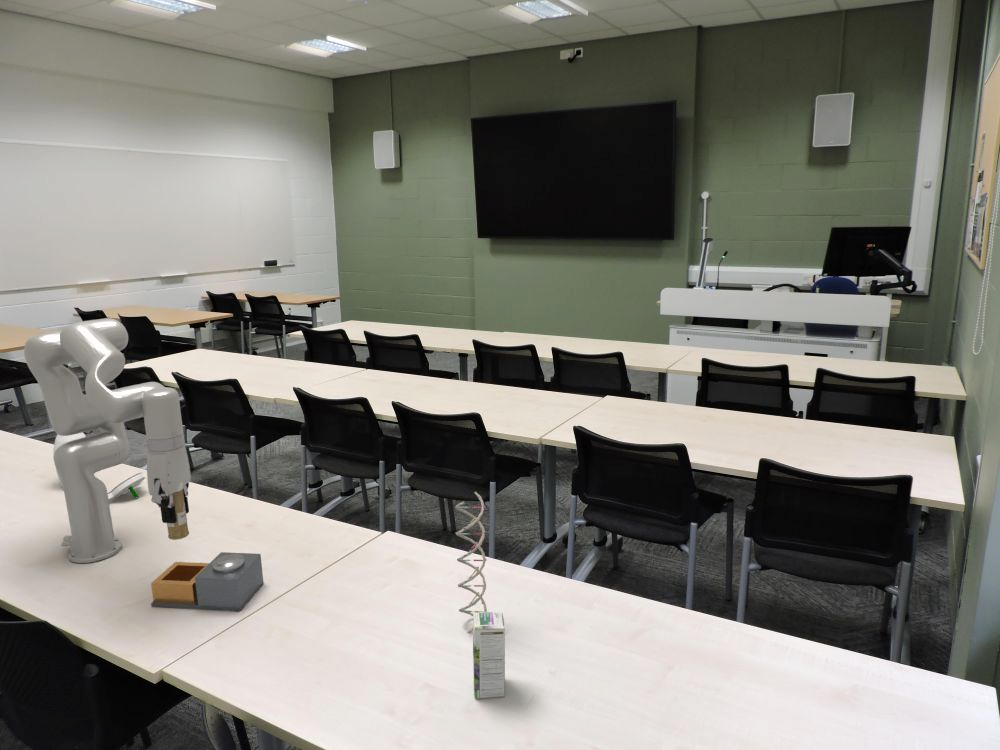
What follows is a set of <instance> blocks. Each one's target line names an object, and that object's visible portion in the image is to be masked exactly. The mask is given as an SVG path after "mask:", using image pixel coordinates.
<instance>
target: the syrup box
mask: <svg viewBox="0 0 1000 750" xmlns="http://www.w3.org/2000/svg"><path fill="white" fill-rule="evenodd" d="M472 614H473V616H472V624H473V625H472V628H473V631H472V659H473V660H472V663H473V666H472V667H473V692H474V693H473V694H474V699H476V700H478V699H479V700H480V699H491V698H492V699H493V698H502V697H503V698H505V697H506V670H505V669H506V639H505V638H506V637H505V635H506V630H505V618H504V613H503V612H502V611H487V612H478V613H475V612H473V613H472Z"/></svg>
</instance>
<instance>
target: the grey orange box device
mask: <svg viewBox="0 0 1000 750" xmlns="http://www.w3.org/2000/svg"><path fill="white" fill-rule="evenodd" d="M262 566H263V563H262V556H261V553H250V552H249V553H247V552H246V553H245V552H224V551H223V552H222V551H221V552H220V553H219V554H217V555H216V556H215V557H214V558H213V560H211V561H210V562H191V561H190V562H188V561H174V562H173V563H171V565H169V566H168V567H167V569H165V570H164V571H163V572H162V573H161V574H159V575H158V576H157V577H156V578H155V579H154V580H153V581H151V583H150V588H151V593H152V599H153V601H151V602H150V606H151V608H162V609H163V608H164V609H165V608H166V609H183V610H184V609H186V610H204V611H209V610H210V611H222V612H223V611H225V612H226V611H229V612H241V611H242V610H243V609H244V608H245V607H246V605H248V604H249V602H251V600H250V599H252V598H253V597H254V596H255V595H256V594H257V592H258V591H260V589H261V588H262V587H263V586H264V584H265V583H264V574H263V567H262ZM260 587H261V588H260ZM255 593H256V594H255ZM254 594H255V595H254Z"/></svg>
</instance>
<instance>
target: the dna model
mask: <svg viewBox="0 0 1000 750" xmlns="http://www.w3.org/2000/svg"><path fill="white" fill-rule="evenodd" d="M474 494H475V495H476V497H477V498H478V500H479V502H480V504H481V506H472V509H480V513H479V514H478V516H477V517H476V516H475V515H473V514H471V513H470V512H469V511H467V510H465V509H470V506H463V505H465V501H462V502H460V503H458V504H456V505H455V506H454V507H455V510H456V511H459V512H461V513H463V514H465V515H467V516H469V517H470V518H472V520H471V521H470V522H469V523H468V524H467V525H466V526H463V527H462V528H461V529H460V530H458V531H457V532H454V533H455V535H456V536H457V537H460V538H462V539H464V540H466V541H468V542H471V543H472V544H473V546H472V547H470V548H471V549H470V550H469V551H468V552H467V553H466V554H463V555H461V556H460V557H458V558H457V559H456V561H457V562H459V563H461V564H463V565H466V566H468V567H471V568H472V569H474V571H473V572H472V574H471V575H470V576H469V577H468V578H467V579H466V580H464V581H462V582H460V583H458V584H457V587H458V588H461V589H464V590H467V591H468V592H471V593H473V594H475V596H474V597H473V598H472V600H471V601H470V602H469V604H468V605H466V606H464V607H461V608H459V609H458V611H459V612H461V613H464V614H466V615H470V616H471V617H473V614H474V613H478V612H488V611H487V604H486V601H485V600H484V598H483V595H484V594H485V592H486V589H487V582H486V578H485V575H484V574H483V572H482V571H483V569H484V568H485V565H486V562H487V560H488V559H487V558H486V555H485V551H484V550H483V548H482V547H481V546H482V545H483V542H484V540H485V534H486V531H485V527H484V525H483V524H482V522H481V521H480V519H481V518H482V516H483V514H484V510H485V508H486V505H485V503H484V500H483V499H482V498H483V497H482V496H481V495H480V494H478V492H477V491H474ZM476 523H478V526H479V527H480V528H479V529H481V532H482V533H479V532H478V533H466V532H465V531H467V530H469V529H470V528H471V527H474V526H475V524H476ZM464 532H465V533H464ZM468 535H472V536H475V535H476V536H479V535H480V539H479V541H475V540H473V539H472V538H470V537H468ZM477 550H478V551H479V552H480V553H481V557H482V559H473V562H482V564H481V566H475V565H473V564H472V563H470V562H471V559H465V558H467V557H469V556H470V555H473V553H475V552H476V551H477ZM479 567H480V568H479ZM479 575H480V577H481V578H482V583H483V584H481V585H480V584H477V585H470V584H469V585H468V584H467V583H469V582H471V581H473V580H474V579H475V578H477V577H478V576H479ZM466 584H467V585H466ZM471 587H476V588H477V587H481V588H482V591H481V593H480V591H478V592H477V591H476V590H474V589H473V588H471ZM477 597H478V598H477ZM480 600H481V604H482V605H483V608H484V610H467V609H469V608H471V607H473V606H475V605H477V603H478V602H479V601H480ZM467 633H468V634H470V633H473V627H472V628H471V629H469V630H468V631H467Z"/></svg>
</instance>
